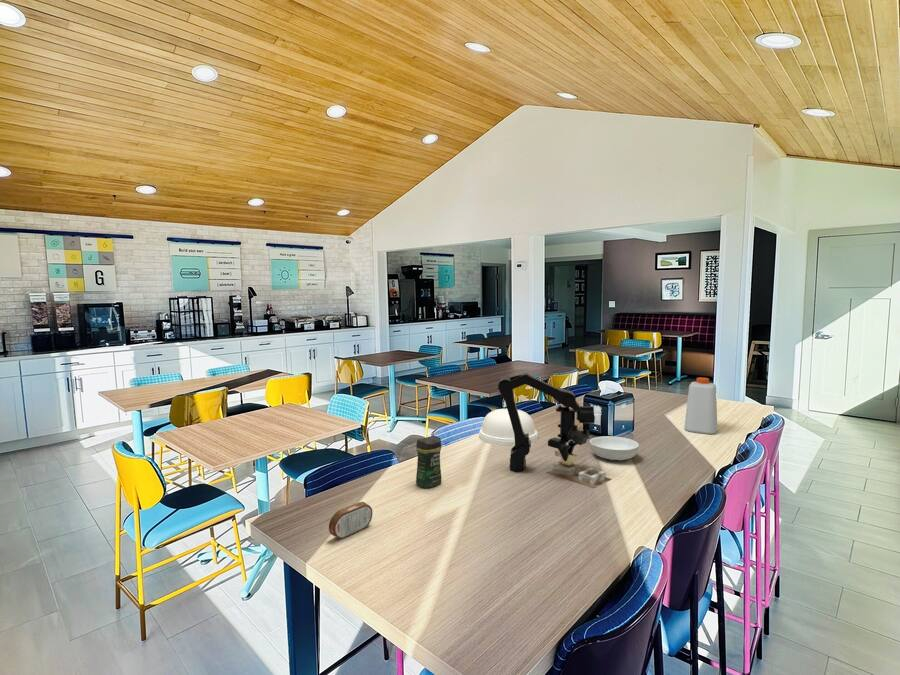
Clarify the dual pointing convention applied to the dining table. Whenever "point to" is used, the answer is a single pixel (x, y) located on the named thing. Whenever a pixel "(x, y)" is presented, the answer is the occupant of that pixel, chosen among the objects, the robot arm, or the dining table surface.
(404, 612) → the dining table surface
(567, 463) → the gold rectangular bar
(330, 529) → the tin
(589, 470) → the board
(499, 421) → the dome cover
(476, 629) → the dining table surface
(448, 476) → the dining table surface
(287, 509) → the dining table surface
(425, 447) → the coffee jar
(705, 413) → the plastic bottle
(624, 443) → the serving bowl
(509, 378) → the robot arm
